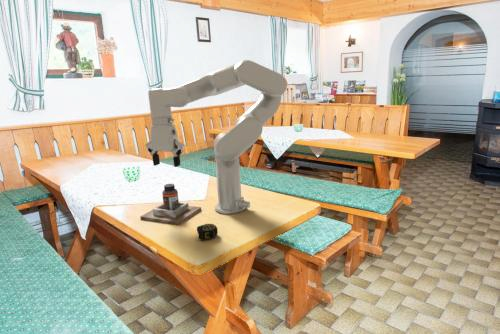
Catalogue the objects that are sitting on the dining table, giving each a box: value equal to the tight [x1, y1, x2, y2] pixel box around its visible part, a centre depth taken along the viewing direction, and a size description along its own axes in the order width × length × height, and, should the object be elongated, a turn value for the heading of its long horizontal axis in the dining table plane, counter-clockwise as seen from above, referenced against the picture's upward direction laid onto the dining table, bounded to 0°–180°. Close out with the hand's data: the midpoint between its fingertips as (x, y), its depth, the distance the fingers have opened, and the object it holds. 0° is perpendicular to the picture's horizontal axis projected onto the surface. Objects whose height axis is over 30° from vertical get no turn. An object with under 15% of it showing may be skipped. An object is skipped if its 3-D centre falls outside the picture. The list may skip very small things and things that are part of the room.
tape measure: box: [196, 223, 219, 241], centre depth 121 cm, size 7×7×4 cm
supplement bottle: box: [162, 183, 180, 210], centre depth 141 cm, size 6×6×11 cm
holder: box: [139, 201, 202, 226], centre depth 142 cm, size 18×16×4 cm
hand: (166, 165), depth 138 cm, fingers open, 9 cm apart
